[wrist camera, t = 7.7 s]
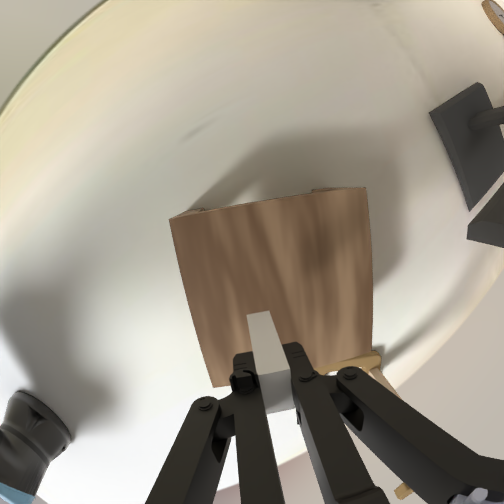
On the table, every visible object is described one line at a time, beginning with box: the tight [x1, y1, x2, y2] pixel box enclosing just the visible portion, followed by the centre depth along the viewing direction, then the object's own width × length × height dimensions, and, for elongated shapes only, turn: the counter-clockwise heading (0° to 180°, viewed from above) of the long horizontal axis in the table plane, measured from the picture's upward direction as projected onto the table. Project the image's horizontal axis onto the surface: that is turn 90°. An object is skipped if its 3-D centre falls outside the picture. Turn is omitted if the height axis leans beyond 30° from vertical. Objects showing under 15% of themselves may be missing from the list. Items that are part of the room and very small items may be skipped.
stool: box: [169, 188, 373, 388], centre depth 27 cm, size 9×16×16 cm
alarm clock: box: [482, 0, 504, 35], centre depth 22 cm, size 11×5×15 cm
